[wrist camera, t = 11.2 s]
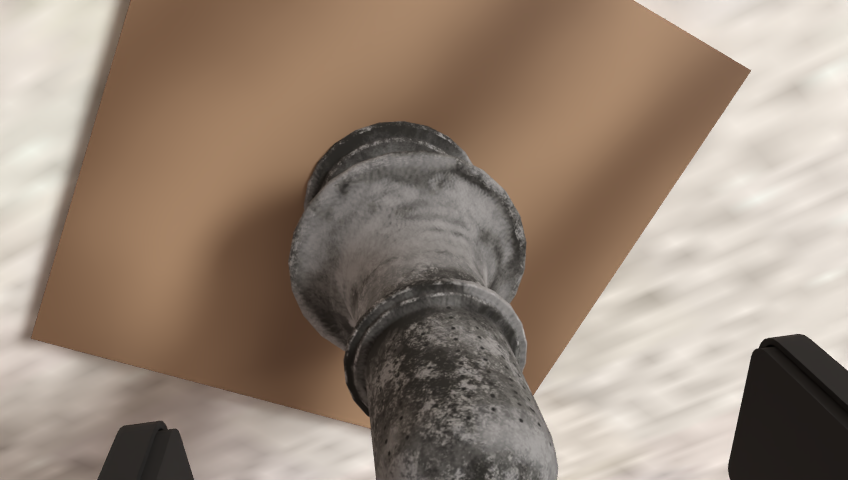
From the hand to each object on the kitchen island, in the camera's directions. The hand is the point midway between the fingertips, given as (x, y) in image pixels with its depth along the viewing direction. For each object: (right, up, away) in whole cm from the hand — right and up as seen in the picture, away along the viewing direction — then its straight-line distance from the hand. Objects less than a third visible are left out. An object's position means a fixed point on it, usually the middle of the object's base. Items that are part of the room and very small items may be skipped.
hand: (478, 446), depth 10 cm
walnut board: (-2, +5, +9) cm, 11 cm away
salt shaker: (-2, +4, +8) cm, 10 cm away
